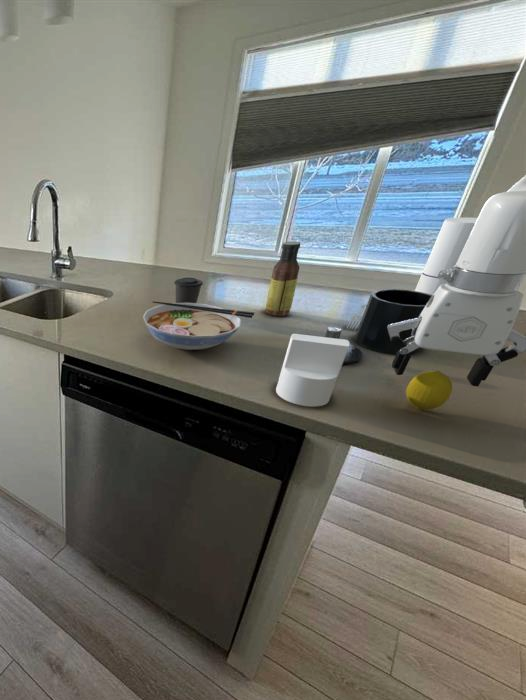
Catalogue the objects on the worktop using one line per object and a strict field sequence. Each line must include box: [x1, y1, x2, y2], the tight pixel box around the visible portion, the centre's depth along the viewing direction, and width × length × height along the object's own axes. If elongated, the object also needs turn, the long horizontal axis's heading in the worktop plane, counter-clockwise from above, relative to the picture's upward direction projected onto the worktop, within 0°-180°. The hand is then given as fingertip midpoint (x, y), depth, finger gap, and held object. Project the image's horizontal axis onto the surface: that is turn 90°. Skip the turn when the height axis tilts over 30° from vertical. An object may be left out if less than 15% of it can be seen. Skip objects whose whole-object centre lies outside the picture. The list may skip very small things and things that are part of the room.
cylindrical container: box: [414, 217, 478, 295], centre depth 98 cm, size 7×7×25 cm
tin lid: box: [324, 326, 364, 364], centre depth 93 cm, size 13×13×6 cm
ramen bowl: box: [142, 300, 255, 351], centre depth 102 cm, size 25×23×8 cm
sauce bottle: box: [265, 240, 301, 317], centre depth 112 cm, size 7×6×20 cm
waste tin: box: [354, 288, 433, 356], centre depth 93 cm, size 12×12×12 cm
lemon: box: [405, 370, 453, 411], centre depth 72 cm, size 6×6×8 cm
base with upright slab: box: [275, 333, 351, 408], centre depth 78 cm, size 9×9×12 cm
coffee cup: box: [173, 277, 204, 303], centre depth 122 cm, size 8×8×10 cm
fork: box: [346, 304, 367, 331], centre depth 110 cm, size 3×21×3 cm, turn 132°
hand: (433, 377), depth 70 cm, fingers open, 9 cm apart
